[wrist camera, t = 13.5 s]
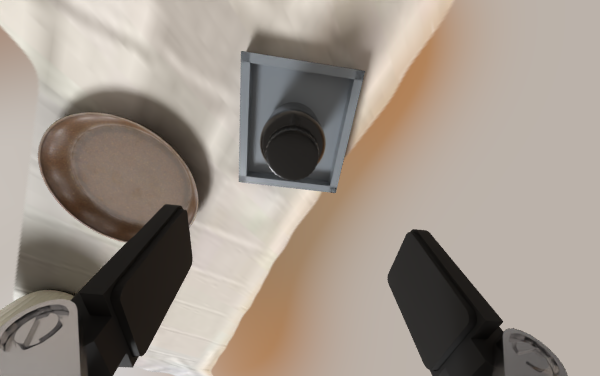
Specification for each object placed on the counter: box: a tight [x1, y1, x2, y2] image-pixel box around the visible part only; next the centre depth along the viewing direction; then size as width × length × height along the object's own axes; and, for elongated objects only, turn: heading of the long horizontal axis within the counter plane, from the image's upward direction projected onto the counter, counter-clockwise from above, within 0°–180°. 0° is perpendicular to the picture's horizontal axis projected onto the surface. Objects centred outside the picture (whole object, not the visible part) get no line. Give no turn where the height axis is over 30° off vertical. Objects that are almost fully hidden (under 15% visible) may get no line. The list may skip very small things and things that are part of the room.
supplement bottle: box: [260, 102, 326, 181], centre depth 25 cm, size 7×7×12 cm
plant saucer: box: [38, 112, 199, 243], centre depth 33 cm, size 21×21×3 cm
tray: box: [239, 51, 365, 193], centre depth 30 cm, size 16×14×2 cm
